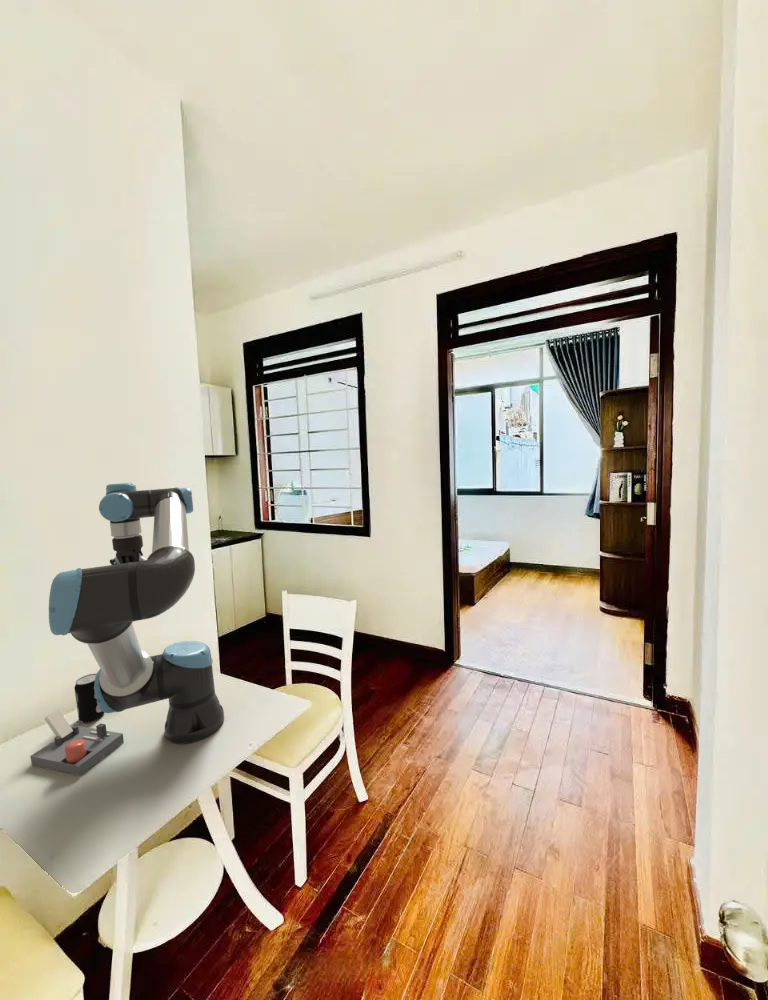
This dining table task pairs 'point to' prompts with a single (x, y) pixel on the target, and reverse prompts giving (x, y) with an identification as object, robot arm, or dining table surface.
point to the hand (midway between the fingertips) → (136, 613)
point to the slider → (101, 730)
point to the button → (75, 751)
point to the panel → (95, 751)
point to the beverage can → (87, 699)
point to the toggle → (59, 725)
